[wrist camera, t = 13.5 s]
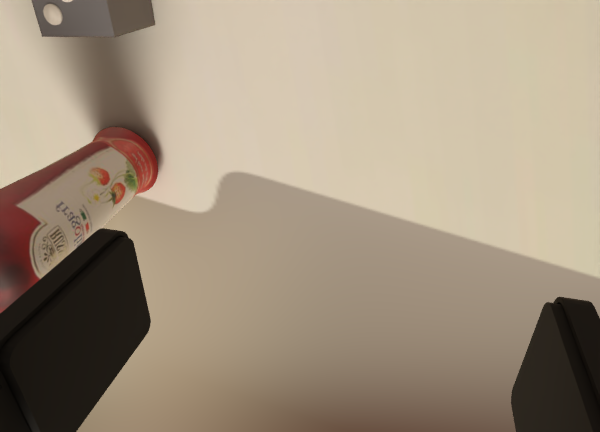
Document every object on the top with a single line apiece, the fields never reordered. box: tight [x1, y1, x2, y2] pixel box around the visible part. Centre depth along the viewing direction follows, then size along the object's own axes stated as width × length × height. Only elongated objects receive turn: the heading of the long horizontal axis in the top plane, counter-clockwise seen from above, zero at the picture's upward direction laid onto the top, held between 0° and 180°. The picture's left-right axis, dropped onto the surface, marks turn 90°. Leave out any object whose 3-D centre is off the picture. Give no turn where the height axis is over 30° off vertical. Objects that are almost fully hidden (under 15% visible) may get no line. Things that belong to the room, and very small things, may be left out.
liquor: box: [0, 127, 158, 313], centre depth 33 cm, size 7×7×28 cm
